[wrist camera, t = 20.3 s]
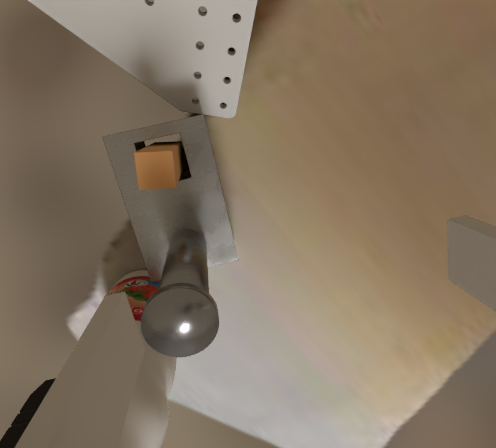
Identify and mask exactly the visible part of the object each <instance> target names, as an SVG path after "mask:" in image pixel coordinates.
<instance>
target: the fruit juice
mask: <svg viewBox="0 0 496 448" xmlns="http://www.w3.org/2000/svg"><path fill="white" fill-rule="evenodd" d="M159 284H160V280H157V281H153V282H151V280H150V277H149V274H148V271H147V270H138V271H134V272H131V273H128V274H126V275H125V276H123V277H121V278H120V279H119V280H118V281H117V282H116V283H115V284H114V285H113V286H112V288H111V289H110V291H109V293H108V295H112V294H116V293H121V292H125V293H126V296H127V299H128V302H129V305H130V308H131V311H132V314H133V317H134V319H135V322H136V325H137V328H138V331H139V334H140V337H141V340H142V343H143V345H144V348H145V352H144V355H143V359H142V362H141V366H140V369H139V373H138V376H137V380H136V383H135V387H134V390H133V394H132V397H131V401H130V405H129V408H128V412H127V415H126V419H125V422H124V426H123V429H122V433H121V436H120V440H119V443H118V447H117V448H160V447H161V445H162V443H163V440H164V437H165V434H166V430H167V424H168V418H169V409H168V402H167V397H168V395H169V393H170V391H171V388H172V384H173V380H174V375H175V370H176V358H177V357H171V356H167V355H164V354H161V353H159V352H157V351H155V350H154V349H153V348H152V347H150V346H149V345H148V343H147V342H146V341H145V339H144V337H143V335H142V332H141V326H140V325H141V317H142V313H143V310H144V307H145V304H146V302H147V301H148V299H149V298H150V296H151V295H152V294H153V293H155V292H156V291H157V290H158V288H159Z"/></svg>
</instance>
